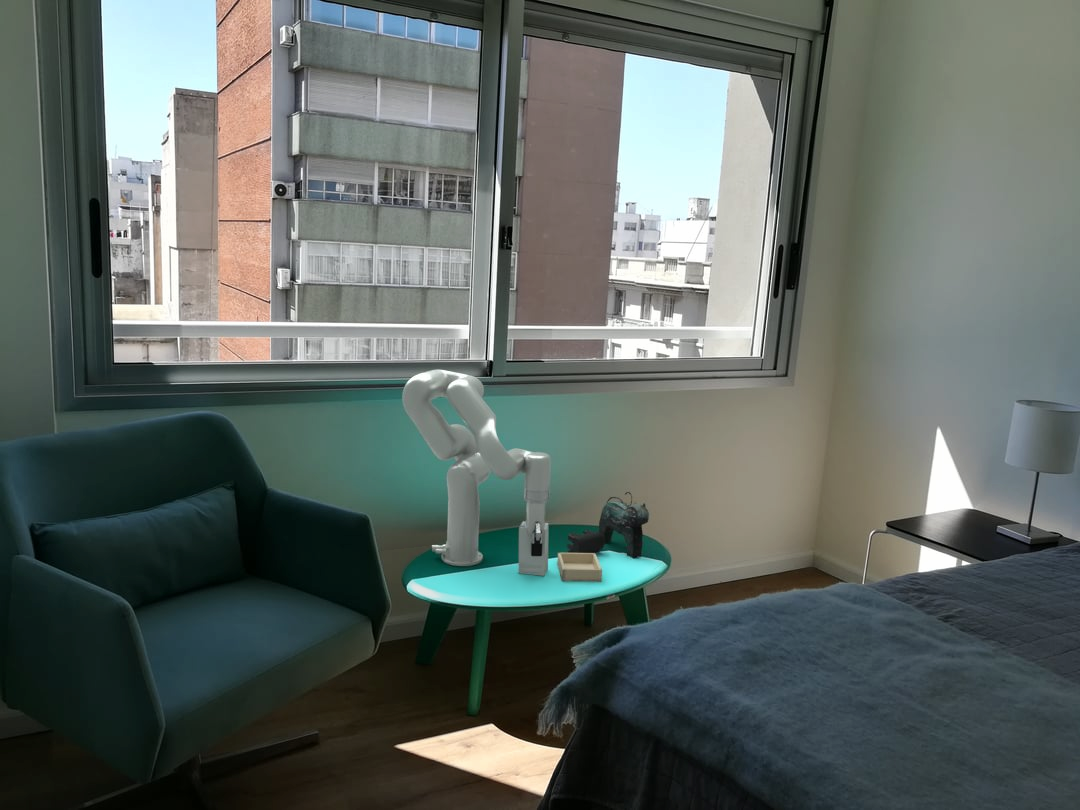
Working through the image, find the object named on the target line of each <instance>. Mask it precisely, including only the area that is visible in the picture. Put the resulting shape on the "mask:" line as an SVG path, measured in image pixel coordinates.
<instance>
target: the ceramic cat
mask: <svg viewBox="0 0 1080 810" xmlns="http://www.w3.org/2000/svg"><path fill="white" fill-rule="evenodd" d="M627 494H629V495H630V499H631V500H630V504H628V503H626V502H624V500H623V499H621V498H620V497H617V496H611V497H609V498H608V499H607V501H606V503H605V504H604V506H603V507H602V510H601V513H600V518H599V523H598V532H600V533H601V534H602V536H603V538H604V545H607V544H606V543H608V544H610V543H611V540H612V537H613V533H614V531H615V533H618V534H620V535H622V536H623V538H624V540H625V543H626V556H628V557H630V558H632V559H638V558H641V557H642V552H643V551H642V549H643V545H644V544H643V543H644V542H643V535H644V533H643V525H645V524H648V522H649V519H650V518H649V517H650V513H649V512H650V511H649V510H648V508H647V507H646V503H645V502H644V503H641V504H638V503H637V501H636V500H635V501H634V502H633V496H632V495H633V494H632V493H631V492H630V491H627V492H625V493H624V496H626V495H627ZM612 499H617V500H619V501H617V500H616V501H615V500H614V501H611V500H612ZM632 503H633V504H632Z"/></svg>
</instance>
